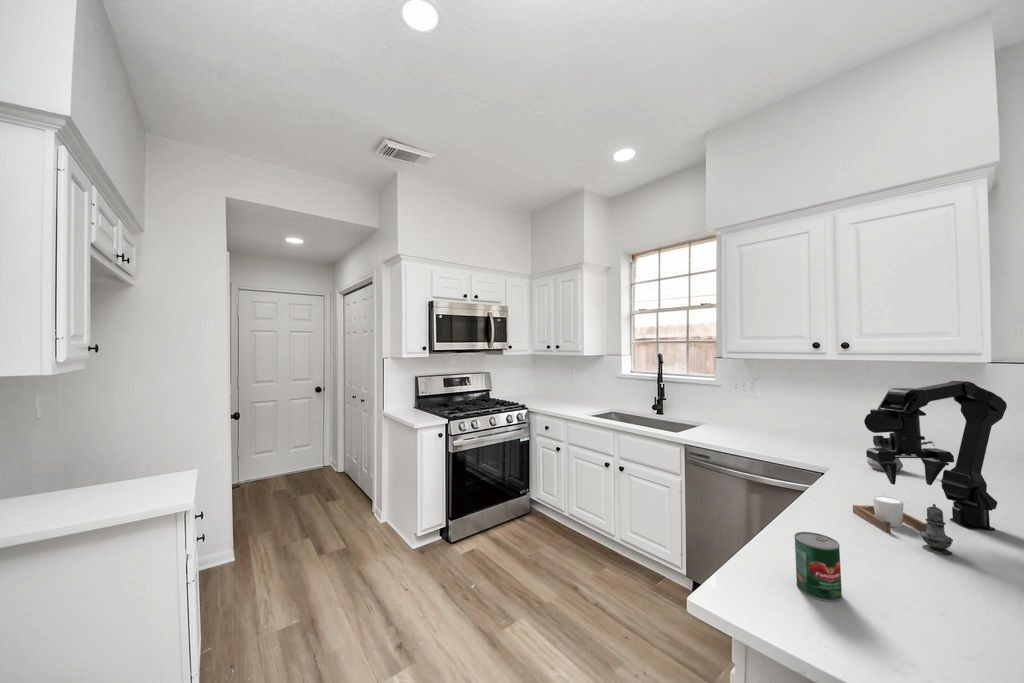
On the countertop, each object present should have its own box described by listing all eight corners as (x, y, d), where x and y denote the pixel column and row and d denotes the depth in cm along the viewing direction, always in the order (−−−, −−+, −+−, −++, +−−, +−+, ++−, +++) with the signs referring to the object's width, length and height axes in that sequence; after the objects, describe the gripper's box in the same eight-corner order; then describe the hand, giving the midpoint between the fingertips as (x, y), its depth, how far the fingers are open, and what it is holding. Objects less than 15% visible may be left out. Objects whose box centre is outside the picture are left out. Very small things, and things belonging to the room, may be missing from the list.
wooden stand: (893, 514, 124) (893, 504, 124) (933, 536, 109) (932, 525, 109) (852, 512, 126) (852, 502, 126) (886, 533, 111) (885, 522, 111)
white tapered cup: (896, 519, 120) (895, 496, 120) (910, 529, 114) (909, 504, 114) (868, 517, 122) (867, 494, 123) (881, 526, 116) (879, 502, 116)
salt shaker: (948, 558, 97) (945, 509, 98) (916, 548, 103) (913, 502, 103) (958, 552, 100) (955, 505, 100) (926, 543, 105) (923, 498, 106)
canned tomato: (828, 606, 80) (825, 551, 80) (788, 585, 87) (786, 535, 88) (850, 595, 83) (847, 543, 84) (809, 577, 90) (807, 529, 91)
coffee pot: (863, 469, 172) (861, 434, 172) (872, 464, 178) (870, 431, 179) (933, 481, 154) (930, 443, 154) (940, 476, 160) (938, 439, 161)
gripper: (920, 426, 122) (924, 476, 121) (852, 426, 125) (855, 475, 124) (953, 433, 111) (958, 488, 110) (878, 433, 114) (882, 487, 113)
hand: (910, 484), depth 115 cm, fingers open, 9 cm apart
